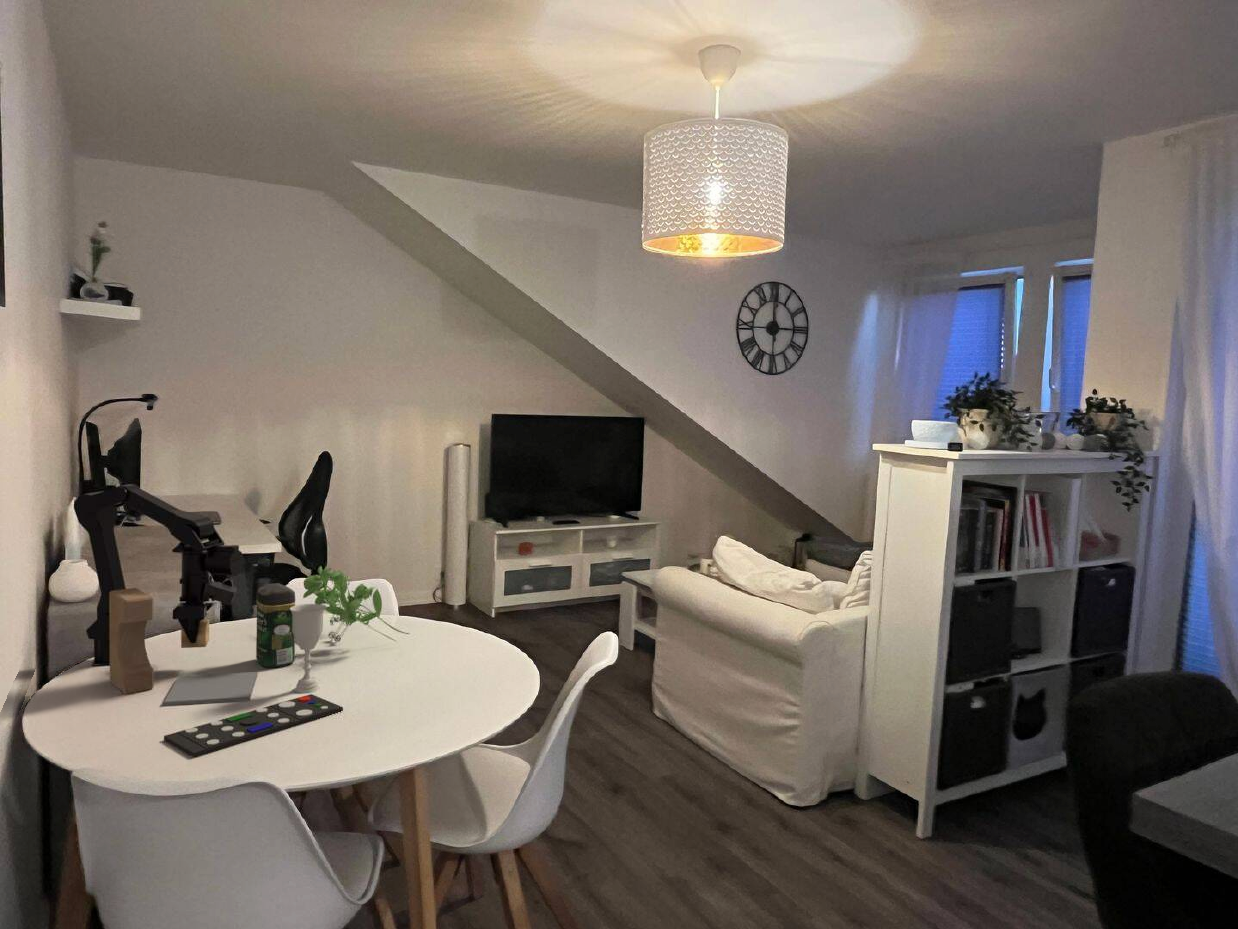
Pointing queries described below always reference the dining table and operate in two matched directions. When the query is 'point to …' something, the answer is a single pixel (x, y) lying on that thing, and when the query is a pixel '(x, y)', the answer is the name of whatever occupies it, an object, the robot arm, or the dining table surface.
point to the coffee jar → (275, 625)
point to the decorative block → (129, 640)
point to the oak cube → (201, 637)
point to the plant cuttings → (343, 599)
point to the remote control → (251, 725)
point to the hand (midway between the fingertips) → (195, 639)
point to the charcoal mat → (212, 688)
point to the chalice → (307, 639)
